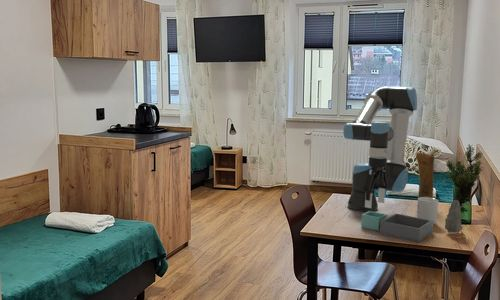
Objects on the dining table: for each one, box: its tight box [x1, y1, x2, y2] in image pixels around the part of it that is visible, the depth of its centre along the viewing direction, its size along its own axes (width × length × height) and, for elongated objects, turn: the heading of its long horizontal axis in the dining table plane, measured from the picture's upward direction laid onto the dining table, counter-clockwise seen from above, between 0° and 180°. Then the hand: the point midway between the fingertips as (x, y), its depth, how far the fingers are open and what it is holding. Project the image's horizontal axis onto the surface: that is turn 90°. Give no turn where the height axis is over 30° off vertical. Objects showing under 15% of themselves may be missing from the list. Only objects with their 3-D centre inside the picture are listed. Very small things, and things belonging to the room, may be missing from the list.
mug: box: [416, 197, 439, 225], centre depth 222 cm, size 12×9×11 cm
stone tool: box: [444, 199, 463, 234], centre depth 206 cm, size 8×3×15 cm, turn 98°
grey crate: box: [379, 213, 434, 243], centre depth 204 cm, size 17×17×6 cm
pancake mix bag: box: [415, 151, 435, 199], centre depth 252 cm, size 7×19×28 cm, turn 0°
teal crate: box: [360, 211, 388, 232], centre depth 211 cm, size 8×8×6 cm
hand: (374, 205), depth 210 cm, fingers open, 13 cm apart
